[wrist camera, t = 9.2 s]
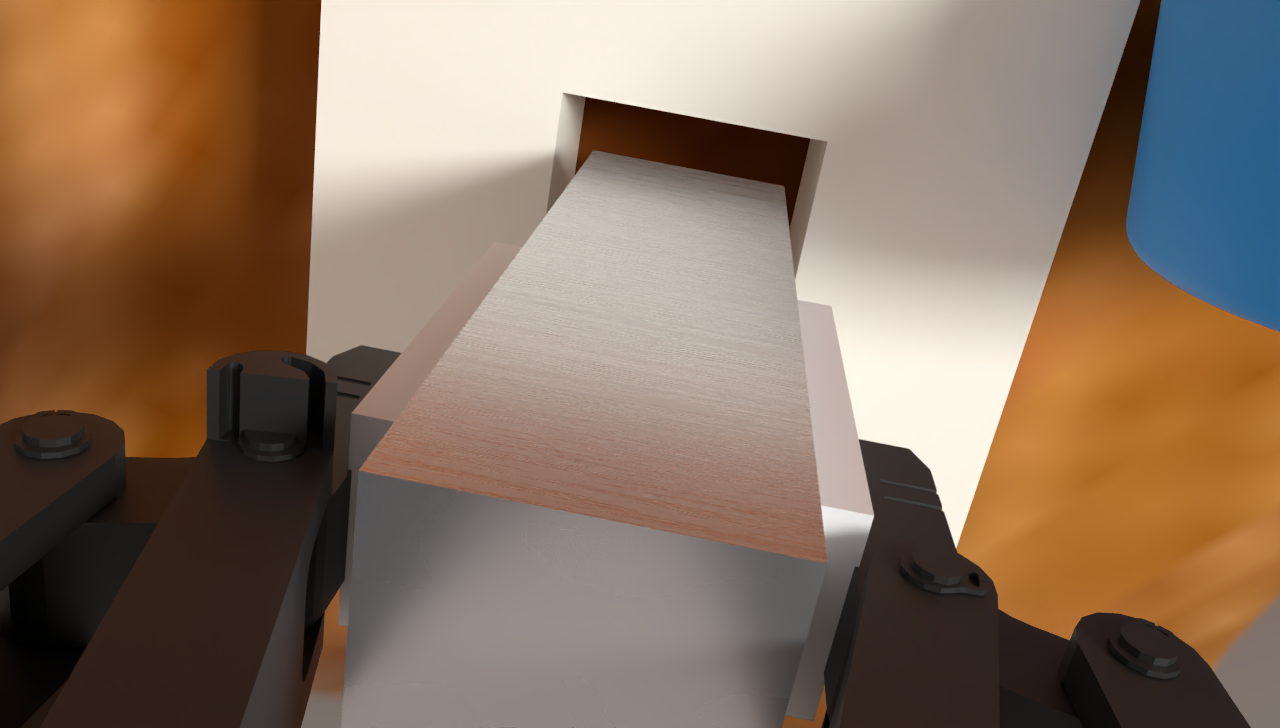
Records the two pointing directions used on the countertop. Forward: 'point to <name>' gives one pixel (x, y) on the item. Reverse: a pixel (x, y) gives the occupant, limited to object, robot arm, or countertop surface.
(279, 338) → the countertop surface
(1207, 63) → the alarm clock
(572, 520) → the square bit
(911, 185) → the bore block
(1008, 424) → the countertop surface
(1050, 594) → the countertop surface
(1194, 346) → the countertop surface
